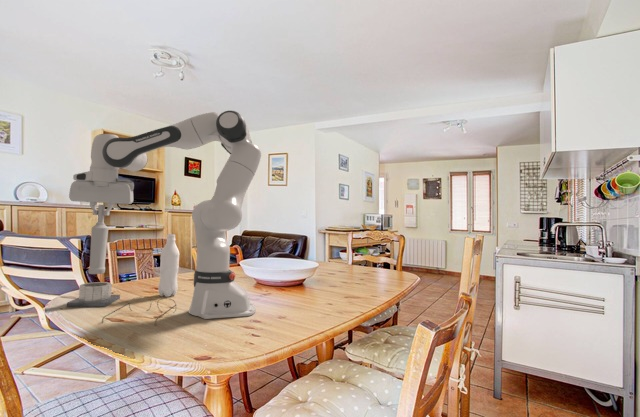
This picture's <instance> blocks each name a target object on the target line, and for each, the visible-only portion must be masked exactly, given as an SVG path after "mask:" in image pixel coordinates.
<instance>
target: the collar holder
mask: <svg viewBox="0 0 640 417" xmlns="http://www.w3.org/2000/svg"><path fill="white" fill-rule="evenodd" d="M112 286H113V284H112V283H111V282H108V281H97V282H96V281H95V282H87V283H86V282H85V283H82V284H79V288H78V290H79V291H78V297H77V298H75V299H72V300H70V301H68V302H66V308H105V307H107V306H109V305H112V304H113V303H114V302H117V301H118V300H120V299H121V294H112Z"/></svg>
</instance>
